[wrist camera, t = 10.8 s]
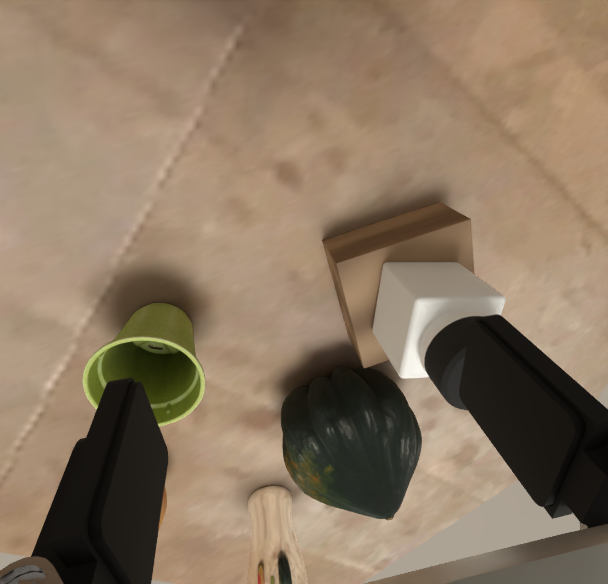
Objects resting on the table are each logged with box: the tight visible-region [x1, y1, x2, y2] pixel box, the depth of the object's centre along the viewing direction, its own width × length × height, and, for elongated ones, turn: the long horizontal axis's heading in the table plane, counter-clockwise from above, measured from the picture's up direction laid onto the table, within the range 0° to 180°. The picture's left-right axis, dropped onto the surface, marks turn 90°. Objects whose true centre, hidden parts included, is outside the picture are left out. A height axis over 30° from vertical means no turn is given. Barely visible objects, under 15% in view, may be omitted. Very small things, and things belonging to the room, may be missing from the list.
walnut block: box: [322, 202, 474, 368], centre depth 38 cm, size 12×12×6 cm
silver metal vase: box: [247, 486, 308, 584], centre depth 48 cm, size 7×7×15 cm
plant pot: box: [83, 303, 205, 426], centre depth 35 cm, size 9×9×9 cm
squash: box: [281, 367, 422, 520], centre depth 42 cm, size 14×15×15 cm
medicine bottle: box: [372, 262, 506, 410], centre depth 30 cm, size 7×7×12 cm
